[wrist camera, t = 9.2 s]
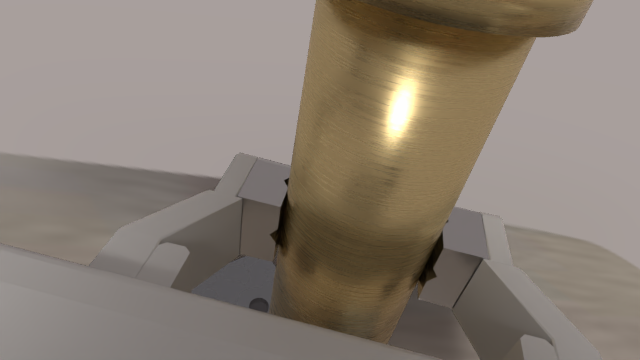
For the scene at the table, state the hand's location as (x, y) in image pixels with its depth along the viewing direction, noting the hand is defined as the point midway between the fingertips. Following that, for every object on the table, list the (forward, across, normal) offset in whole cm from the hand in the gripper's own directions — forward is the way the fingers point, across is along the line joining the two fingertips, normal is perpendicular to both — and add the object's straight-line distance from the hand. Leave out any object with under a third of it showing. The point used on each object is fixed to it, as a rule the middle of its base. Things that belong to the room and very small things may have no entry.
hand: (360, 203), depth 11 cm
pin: (-1, 0, +6) cm, 7 cm away
